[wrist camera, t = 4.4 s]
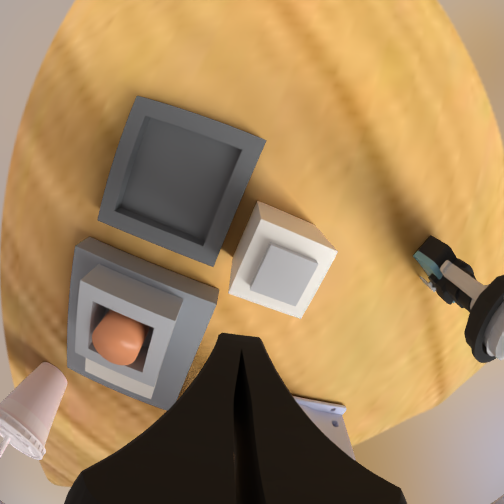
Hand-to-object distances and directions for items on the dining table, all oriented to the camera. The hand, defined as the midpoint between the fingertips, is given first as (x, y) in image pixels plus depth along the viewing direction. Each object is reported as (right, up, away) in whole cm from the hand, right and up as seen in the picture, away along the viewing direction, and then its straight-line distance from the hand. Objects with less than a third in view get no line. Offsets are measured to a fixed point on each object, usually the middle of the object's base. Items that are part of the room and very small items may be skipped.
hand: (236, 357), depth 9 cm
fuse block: (+2, +4, +9) cm, 10 cm away
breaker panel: (-9, -2, +11) cm, 14 cm away
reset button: (-8, -1, +8) cm, 11 cm away
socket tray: (-4, +8, +8) cm, 12 cm away
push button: (+15, +2, +10) cm, 18 cm away
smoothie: (-20, -9, +14) cm, 26 cm away
